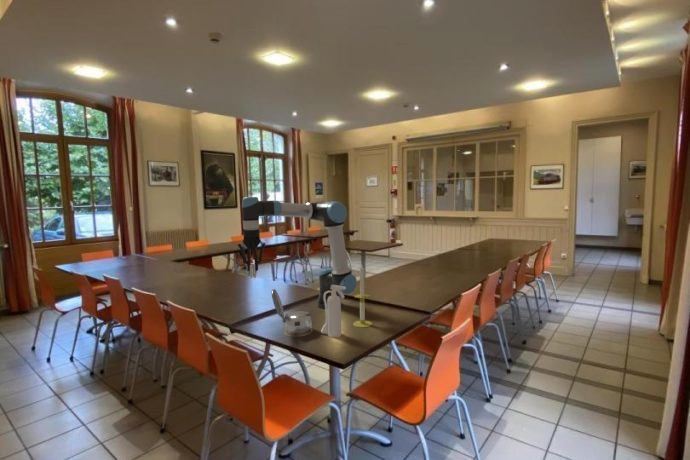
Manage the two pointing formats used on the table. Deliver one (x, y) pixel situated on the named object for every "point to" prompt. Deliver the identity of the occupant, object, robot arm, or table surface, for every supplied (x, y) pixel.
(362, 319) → the candle
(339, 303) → the white extinguisher
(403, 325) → the table surface
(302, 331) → the pot
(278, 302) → the lid
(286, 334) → the trivet
